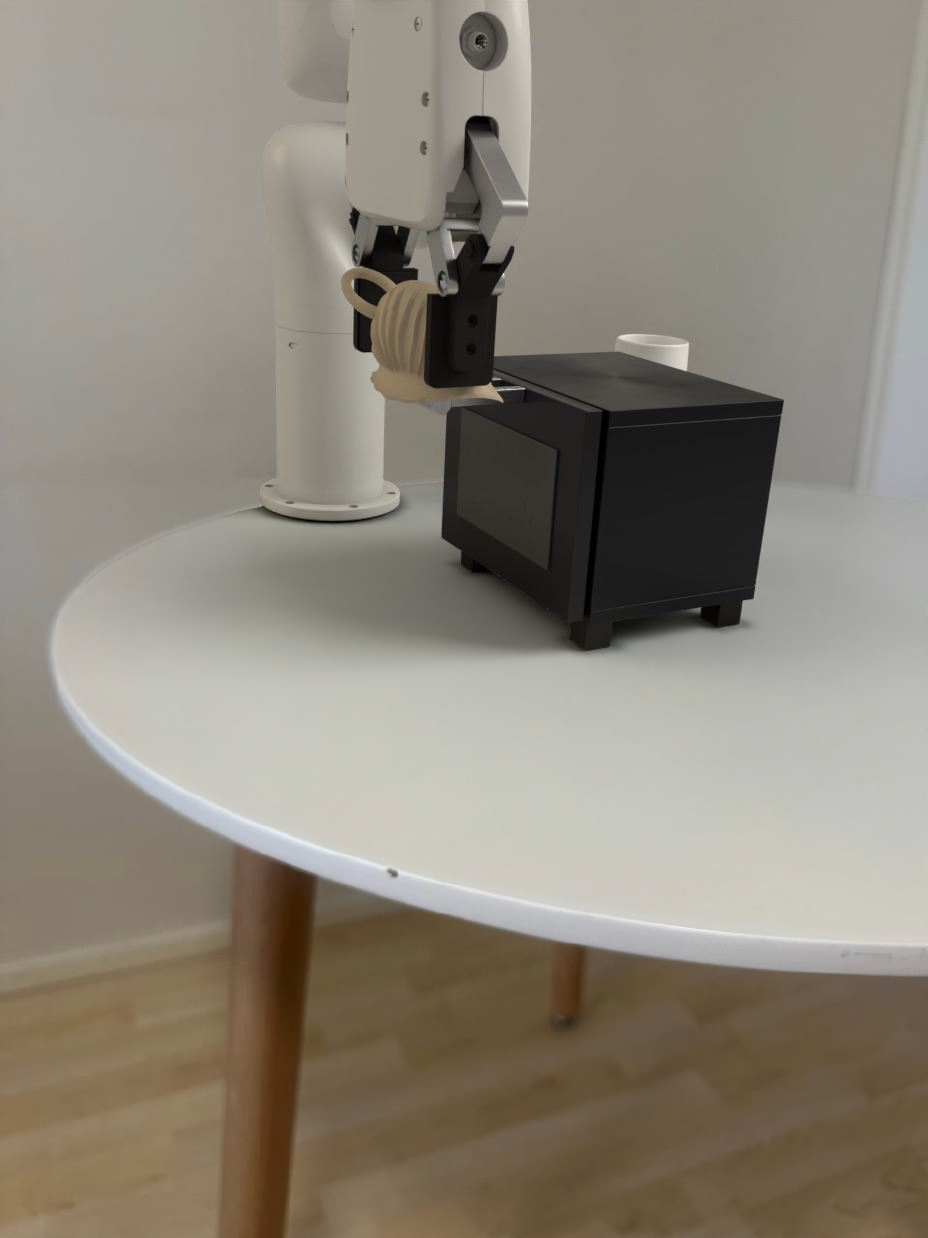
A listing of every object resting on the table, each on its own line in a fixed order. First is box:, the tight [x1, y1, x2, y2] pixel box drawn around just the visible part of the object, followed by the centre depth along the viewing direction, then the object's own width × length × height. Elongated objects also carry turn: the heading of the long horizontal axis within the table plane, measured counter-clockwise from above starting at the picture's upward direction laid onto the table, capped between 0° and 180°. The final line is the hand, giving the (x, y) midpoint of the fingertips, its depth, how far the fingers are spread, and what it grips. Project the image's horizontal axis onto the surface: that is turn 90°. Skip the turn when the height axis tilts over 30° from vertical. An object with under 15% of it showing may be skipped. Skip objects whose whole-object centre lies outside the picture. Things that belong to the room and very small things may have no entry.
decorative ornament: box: [341, 267, 503, 404], centre depth 54 cm, size 4×8×5 cm, turn 43°
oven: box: [460, 351, 785, 651], centre depth 83 cm, size 14×19×16 cm
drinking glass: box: [613, 333, 690, 372], centre depth 107 cm, size 7×7×15 cm
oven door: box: [414, 370, 603, 624], centre depth 78 cm, size 8×18×14 cm, turn 27°
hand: (419, 364), depth 55 cm, fingers closed on decorative ornament, 7 cm apart
